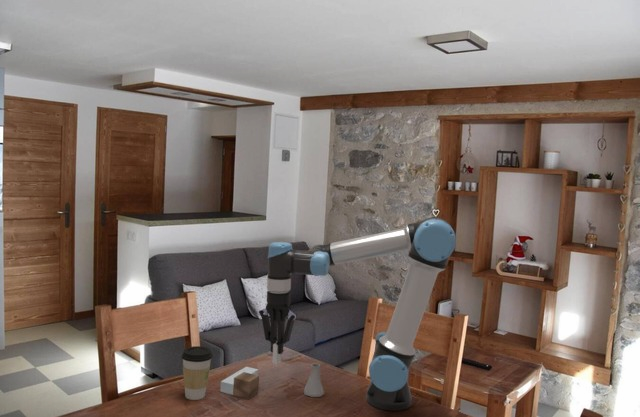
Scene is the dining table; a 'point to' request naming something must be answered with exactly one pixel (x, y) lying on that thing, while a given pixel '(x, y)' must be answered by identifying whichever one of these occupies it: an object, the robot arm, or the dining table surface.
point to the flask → (314, 383)
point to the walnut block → (246, 385)
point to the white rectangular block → (229, 382)
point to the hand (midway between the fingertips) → (276, 362)
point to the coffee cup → (196, 371)
